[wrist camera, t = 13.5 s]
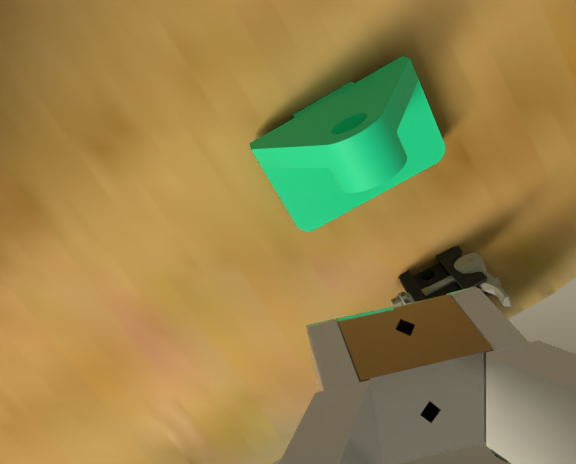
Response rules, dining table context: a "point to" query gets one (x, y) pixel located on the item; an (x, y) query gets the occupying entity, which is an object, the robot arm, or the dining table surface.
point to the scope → (451, 281)
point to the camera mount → (351, 145)
